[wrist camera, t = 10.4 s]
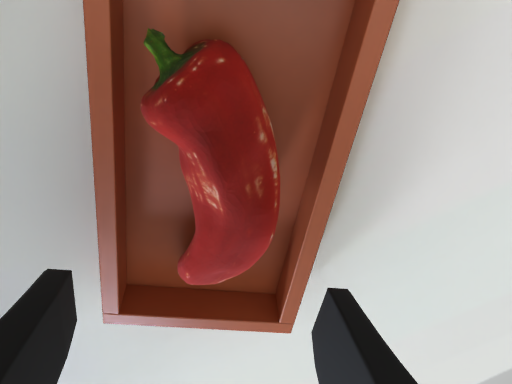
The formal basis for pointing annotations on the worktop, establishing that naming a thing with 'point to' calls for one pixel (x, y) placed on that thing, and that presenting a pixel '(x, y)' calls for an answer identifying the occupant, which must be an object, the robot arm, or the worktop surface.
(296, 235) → the tray
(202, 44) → the vegetable
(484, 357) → the worktop surface
